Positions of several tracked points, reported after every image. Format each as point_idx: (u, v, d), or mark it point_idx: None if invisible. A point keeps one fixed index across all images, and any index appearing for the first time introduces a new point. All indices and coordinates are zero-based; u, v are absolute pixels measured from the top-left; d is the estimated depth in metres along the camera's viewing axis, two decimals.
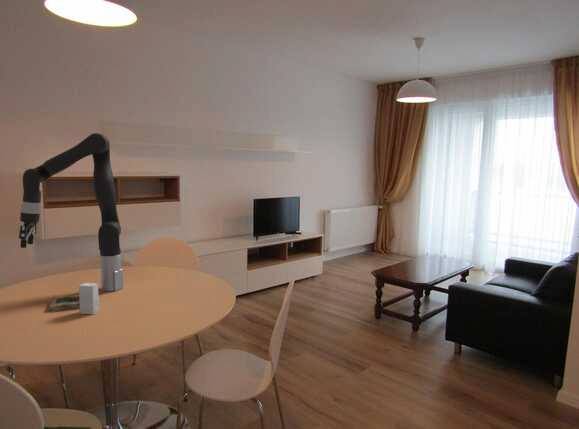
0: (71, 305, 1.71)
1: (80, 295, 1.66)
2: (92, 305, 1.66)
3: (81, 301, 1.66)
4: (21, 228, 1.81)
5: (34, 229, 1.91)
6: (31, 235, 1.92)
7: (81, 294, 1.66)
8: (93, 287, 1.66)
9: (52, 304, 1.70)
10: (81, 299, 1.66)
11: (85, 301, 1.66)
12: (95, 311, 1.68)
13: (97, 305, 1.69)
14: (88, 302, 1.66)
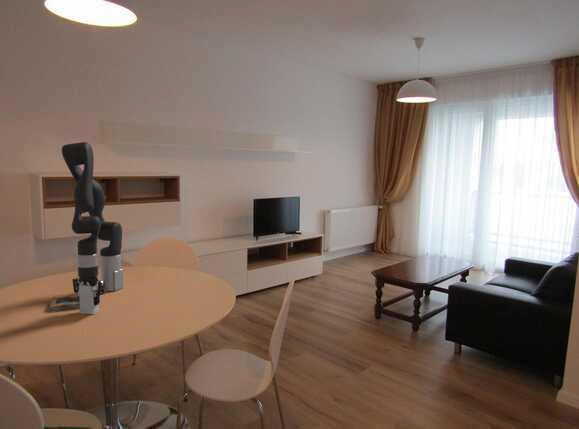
0: (71, 305, 1.71)
1: (80, 295, 1.66)
2: (92, 305, 1.66)
3: (81, 301, 1.66)
4: (101, 284, 1.65)
5: None
6: None
7: (81, 294, 1.66)
8: (93, 287, 1.66)
9: (52, 304, 1.70)
10: (81, 299, 1.66)
11: (85, 301, 1.66)
12: (95, 311, 1.68)
13: (97, 305, 1.69)
14: (88, 302, 1.66)
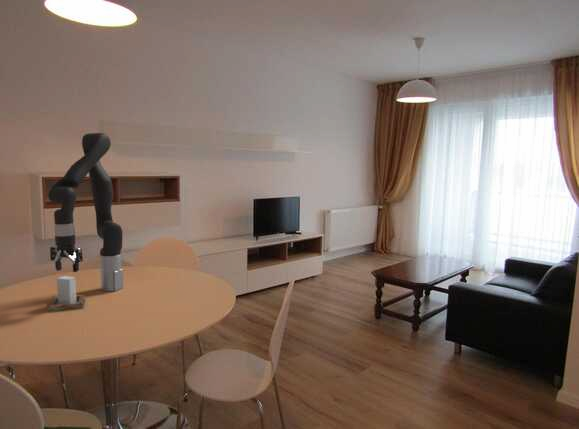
0: (71, 305, 1.71)
1: (58, 288, 1.74)
2: (69, 297, 1.74)
3: (59, 293, 1.74)
4: (78, 251, 1.71)
5: None
6: (59, 260, 1.75)
7: (59, 287, 1.74)
8: (70, 280, 1.73)
9: (52, 304, 1.70)
10: (58, 292, 1.74)
11: (62, 294, 1.74)
12: None
13: (74, 298, 1.77)
14: (65, 294, 1.74)
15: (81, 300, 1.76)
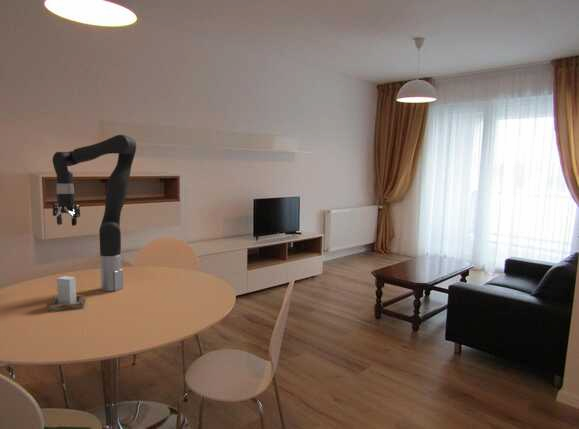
0: (71, 305, 1.71)
1: (58, 288, 1.74)
2: (69, 297, 1.74)
3: (59, 293, 1.74)
4: (76, 207, 1.99)
5: None
6: (59, 216, 2.04)
7: (59, 287, 1.74)
8: (70, 280, 1.73)
9: (52, 304, 1.70)
10: (58, 292, 1.74)
11: (62, 294, 1.74)
12: None
13: (74, 298, 1.77)
14: (65, 294, 1.74)
15: (81, 300, 1.76)
